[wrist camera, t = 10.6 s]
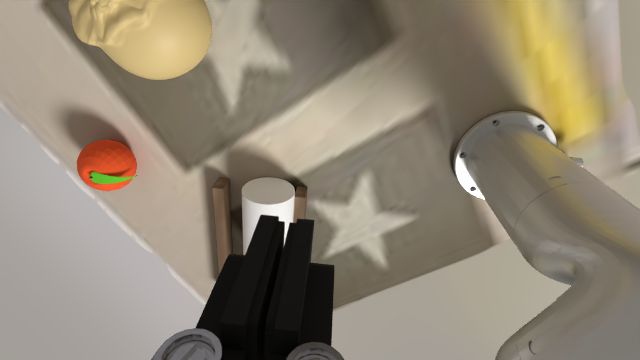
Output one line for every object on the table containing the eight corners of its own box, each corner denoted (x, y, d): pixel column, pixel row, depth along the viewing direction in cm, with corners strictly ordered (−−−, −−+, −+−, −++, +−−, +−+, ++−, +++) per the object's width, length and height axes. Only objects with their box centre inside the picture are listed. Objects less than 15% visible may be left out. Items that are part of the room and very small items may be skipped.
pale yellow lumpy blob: (174, -67, 37) (114, -87, 27) (240, 39, 41) (209, 53, 32) (100, -7, 40) (24, -5, 30) (169, 85, 45) (122, 111, 35)
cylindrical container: (264, 172, 51) (263, 292, 63) (230, 192, 46) (236, 320, 58) (305, 188, 48) (295, 311, 60) (273, 211, 43) (270, 341, 55)
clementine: (152, 138, 48) (123, 160, 42) (154, 181, 52) (128, 207, 45) (94, 127, 48) (57, 148, 42) (101, 171, 51) (67, 196, 45)
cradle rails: (307, 187, 50) (305, 198, 48) (299, 294, 61) (296, 308, 58) (219, 177, 51) (212, 187, 48) (226, 286, 61) (220, 299, 59)
